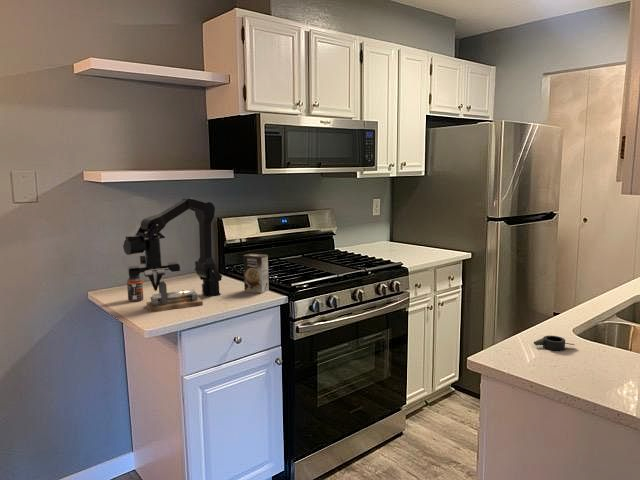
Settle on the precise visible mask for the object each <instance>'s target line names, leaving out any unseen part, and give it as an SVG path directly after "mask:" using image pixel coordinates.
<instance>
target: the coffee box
mask: <svg viewBox="0 0 640 480" xmlns="http://www.w3.org/2000/svg"><path fill="white" fill-rule="evenodd" d="M242 256H243V282H244V283H243V284H244V290H243V291H244V292H245V293H254V294H255V293H256V294H264V293H266V292H268V291H270V289H269V260H268V259H269V255H268V254H262V253H247V254H243V255H242Z"/></svg>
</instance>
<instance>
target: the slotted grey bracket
mask: <svg viewBox="0 0 640 480" xmlns="http://www.w3.org/2000/svg"><path fill="white" fill-rule="evenodd" d="M167 291H168V289H167V284H166V282H165V281H163V280H162V281H161V280H160V282H159V285H158V292H159V293H161V301H160V302H162V305H165V304H168V303H167V293H168V292H167ZM159 293H158V294H159Z"/></svg>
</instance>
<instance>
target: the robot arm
mask: <svg viewBox="0 0 640 480" xmlns="http://www.w3.org/2000/svg"><path fill="white" fill-rule="evenodd" d="M215 206H216V205H214V204H213V203H212V202H211V201H201V200H197V199H194V198H192V197H183V198H182V199H181V200H180V201H177V202H176V203H175V204H173V205H171V206H170V207H168V208H166V209H165V210H163V211H162V212H161V213H158V214H154V215H151V216H148V217H145V218H143V219H142V220H141V222H140V226H139V228H138V230H137V231H136V233H135V235H131V236H130V235H127V236H125V240H124V242H123V245H122V247H123V251H124V253H125V255H127V256H129V255H136V254H143V253H144V255H140V256H139V263H140V264H139V265H144V267H143V266H142V267H140V266H139V265H132V266H130V265H129V266H128V267H127V274H128V277H129V276H138V275H140V274H141V273H143V275H144V277H146V278H148V279H149V281H150V283H151V285H152V287H153V291H154V292H157V291H158V289H159V282H161V280H162V277H163V276H164V275H166V273H165V271H171V272H172V273H174V272H180V271H181V265H180V264H179V263H178V262H177V261H174V262H173V261H172V262H167V264H166V265H162V255H161V254H162V251H161V240H162V239H166V236H165V235H163V234H162V232H161V231H162V230H164V228H166V226H167V224H168V223H169V222H171V221H173V220H174V219H175V218H177V217H179V216H180V215H182V214H184V213H185V212H186V211H188V210H190V211H193V212H194V214H195V215H194V216H195V218H196V220H197V222H198V227H199V228H198V231H199V258H198V260H195V261H194V267H195V268H194V271H195V272H196V275H198V277H199V279H200V281H202V284H201V293H202V294H203V296H204V297H211V296H220V295H222V294H221V292H220V281H222V277H223V276H222V274H221V273H220V272H218V271H217V266H216V262H215V260H214V258H213V253H212V252H213V251H212V250H213V248H212V245H213V244H212V222H213V220H214V218H215V212H216V207H215ZM153 272H155V273H153ZM154 274H155V276H154Z"/></svg>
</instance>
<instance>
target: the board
mask: <svg viewBox="0 0 640 480" xmlns="http://www.w3.org/2000/svg"><path fill="white" fill-rule="evenodd" d="M167 303H168V304H165V305H162V302H160V301H158V306H153V305H152V304H151V301H146V307H147V309H148V311H149V313H154V312H162V311H167V310H168V311H169V310H174V309H176V310H177V309H185V308H190V307H197V306H203V305H204V301H203V300H202V299H201V298H200V297H199V296H198V295H197V300H196V301H192V300H191V299H190V297H189V298H183V299H182V298H181V299H173V300H167Z"/></svg>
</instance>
